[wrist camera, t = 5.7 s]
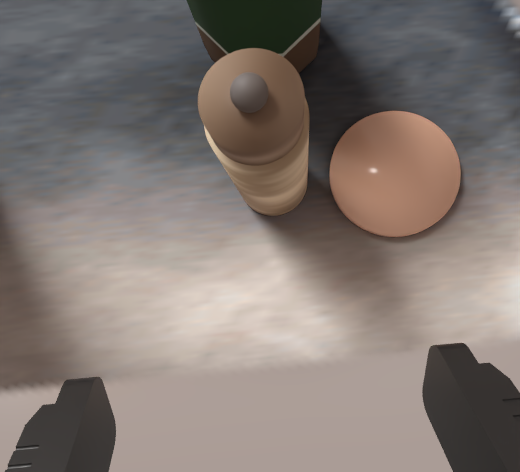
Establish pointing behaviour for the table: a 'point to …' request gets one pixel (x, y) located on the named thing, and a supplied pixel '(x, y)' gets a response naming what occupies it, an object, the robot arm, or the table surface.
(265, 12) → the beer bottle
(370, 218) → the saucer
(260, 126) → the pepper mill
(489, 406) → the robot arm
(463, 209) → the table surface
